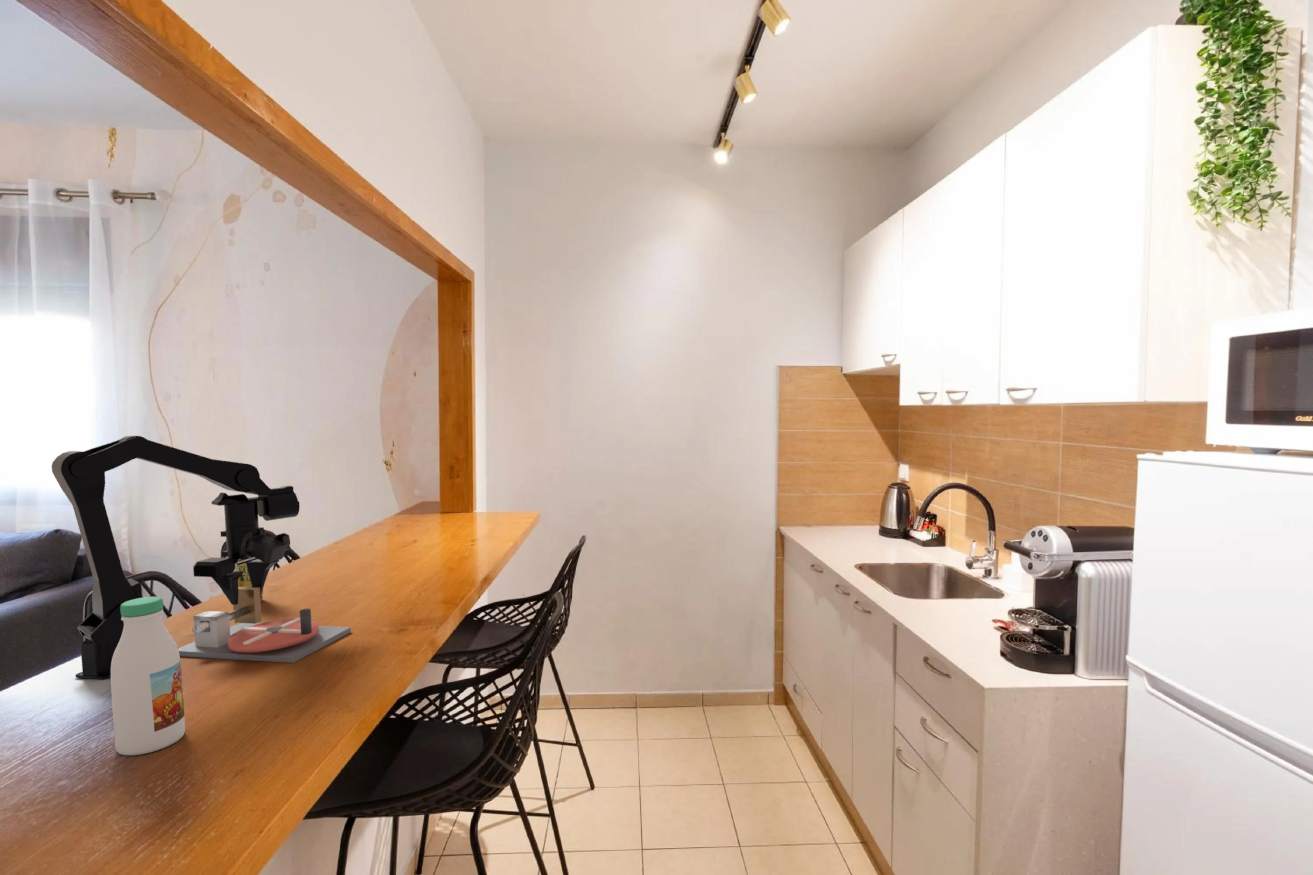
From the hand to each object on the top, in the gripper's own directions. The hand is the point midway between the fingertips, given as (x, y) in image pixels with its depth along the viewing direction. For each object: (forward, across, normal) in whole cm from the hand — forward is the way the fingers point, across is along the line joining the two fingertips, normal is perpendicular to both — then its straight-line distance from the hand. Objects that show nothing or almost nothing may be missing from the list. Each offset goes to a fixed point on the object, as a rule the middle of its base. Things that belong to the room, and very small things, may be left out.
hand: (246, 600), depth 135 cm
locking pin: (+4, -6, 0) cm, 7 cm away
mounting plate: (+7, -4, -8) cm, 12 cm away
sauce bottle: (+7, +20, +18) cm, 27 cm away
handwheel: (+5, -6, -12) cm, 15 cm away
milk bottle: (+7, -40, -22) cm, 47 cm away
